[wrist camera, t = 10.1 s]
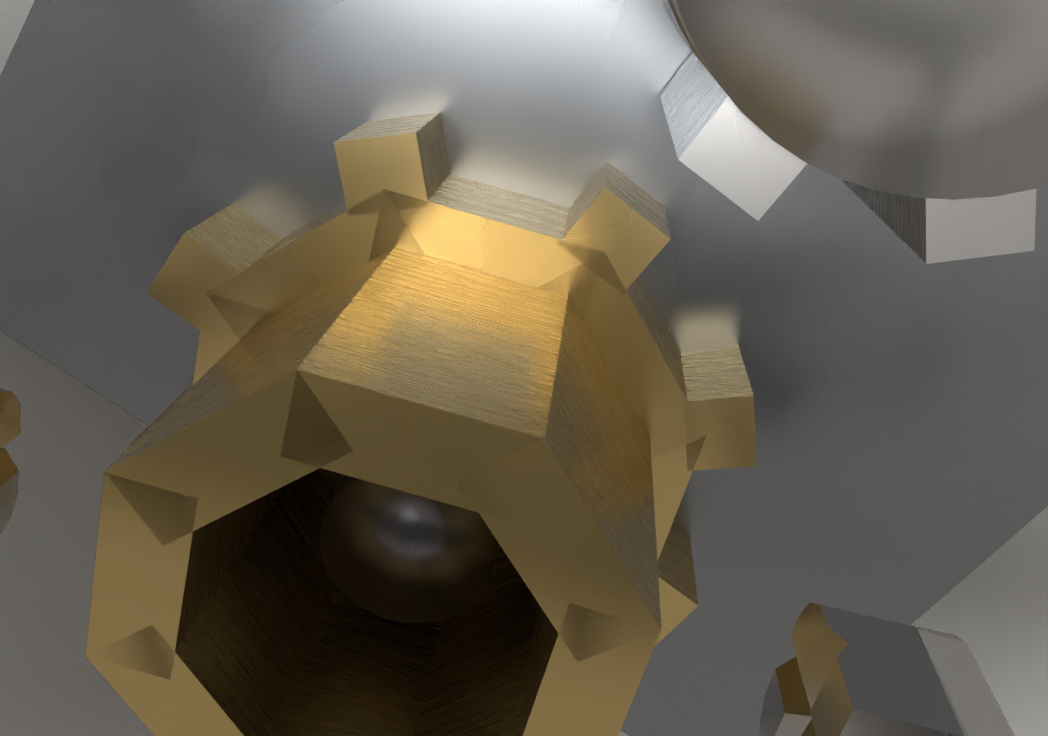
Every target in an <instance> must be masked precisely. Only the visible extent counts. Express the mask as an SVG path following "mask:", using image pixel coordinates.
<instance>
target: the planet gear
mask: <svg viewBox="0 0 1048 736" xmlns="http://www.w3.org/2000/svg"><path fill="white" fill-rule="evenodd" d="M334 147H335V152H336V157H337V162H338V167H339V172H340V176H341V181H342V186H343V191H344V196H345V201H346V202H344V203H342V204H341V205H339V206H337V207H335V208H334V209H332V210H330V211H329V212H327V213H325V214H324V215H322V216H320V217H318V218H317V219H315V220H313V221H312V222H310V223H308V224H306V225H305V226H303V227H301V228H300V229H298V230H296V231H294V232H293V233H291V234H289V235H288V236H286V237H284V238H283V239H281V238H280V237H278V236H277V235H276V234H274V233H273V232H272V231H270V230H269V229H268V228H266V227H265V226H264V225H262V224H261V223H259V222H258V221H257V220H255V219H254V218H253V217H251V216H250V215H249V214H247V213H246V212H245V211H243V210H242V209H240V208H239V207H238V206H236V205H235V204H234V203H232V204H231V205H229V206H228V207H226V208H224V209H223V210H221V211H219V212H218V213H216V214H215V215H213V216H211V217H210V218H208V219H206V220H205V221H203V222H201V223H200V224H198V225H197V226H195V227H193V228H192V229H190V230H188V231H187V232H185V233H184V234H183V235H182V237H181V238H180V240H179V242H178V243H177V245H176V246H175V248H174V250H173V251H172V253H171V254H170V256H169V257H168V259H167V261H166V262H165V264H164V265H163V267H162V268H161V270H160V272H159V273H158V275H157V276H156V278H155V280H154V281H153V283H152V284H151V286H150V287H149V289H148V291H147V292H146V293H148V294H149V295H150V296H152V297H153V298H155V299H156V300H157V301H159V302H160V303H162V304H163V305H164V306H166V307H167V308H169V309H170V310H172V311H173V312H174V313H176V314H177V315H179V316H180V317H181V318H183V319H184V320H186V321H187V322H189V323H190V324H191V325H193V326H194V327H196V328H197V329H198V330H200V337H199V344H198V351H197V358H196V365H195V372H194V380H193V386H192V387H191V388H190V389H189V390H188V391H187V392H186V393H185V394H184V395H183V396H179V397H178V398H177V399H176V400H175V401H174V402H173V403H172V404H171V405H170V406H169V407H168V408H167V409H166V410H165V411H164V412H163V413H162V414H161V415H160V416H159V417H158V418H157V419H156V420H154V421H153V422H152V423H151V424H150V425H149V426H148V427H147V428H146V429H145V430H144V431H143V432H142V433H141V434H140V435H139V436H138V437H137V438H136V439H135V440H134V441H133V442H132V443H131V444H130V445H129V449H128V450H127V451H126V452H125V453H124V454H122V455H121V456H120V457H119V458H118V459H117V460H116V461H115V462H114V463H113V464H112V465H111V466H110V467H109V468H108V469H107V470H106V471H105V472H104V480H103V490H102V500H101V509H100V519H99V529H98V538H97V548H96V558H95V567H94V577H93V587H92V596H91V606H90V616H89V625H88V635H87V645H86V654H85V656H86V658H87V659H88V660H89V661H90V662H91V663H92V665H93V666H94V667H95V668H96V669H97V670H98V671H99V673H100V674H101V675H102V676H103V677H104V678H105V680H106V681H107V682H108V683H109V684H110V685H111V687H112V688H113V689H114V690H115V691H116V692H117V694H118V695H119V696H120V697H121V698H122V699H123V700H124V702H125V703H126V704H127V705H128V706H129V707H130V709H131V710H132V711H133V712H134V713H135V714H136V716H137V717H138V718H139V719H140V720H141V721H142V723H143V724H144V725H145V726H146V727H147V728H148V730H149V731H150V732H151V733H152V734H153V735H154V736H618V735H619V733H620V730H621V728H622V725H623V723H624V720H625V718H626V715H627V713H628V710H629V708H630V705H631V703H632V700H633V698H634V696H635V693H636V691H637V688H638V686H639V683H640V681H641V678H642V676H643V673H644V671H645V668H646V666H647V663H648V661H649V658H650V656H651V654H652V651H653V649H654V646H656V645H657V644H658V643H659V642H660V641H661V640H662V639H663V638H664V637H665V636H666V635H667V634H668V633H670V632H671V631H672V630H673V629H674V628H675V627H676V626H677V625H678V624H679V623H680V622H681V621H682V620H684V619H685V618H686V617H687V616H688V615H689V614H690V613H691V612H692V611H693V610H694V609H695V608H697V607H698V599H697V590H696V582H695V573H694V565H693V557H692V548H691V540H690V539H688V538H687V537H685V536H684V535H683V534H681V533H680V532H679V531H677V530H676V529H675V528H673V527H672V523H673V521H674V518H675V515H676V513H677V510H678V508H679V505H680V503H681V500H682V497H683V495H684V492H685V490H686V487H687V485H688V482H689V479H690V477H691V474H692V472H693V471H695V470H709V469H724V468H738V467H752V466H757V458H756V436H755V414H754V396H753V392H752V389H751V386H750V382H749V379H748V376H747V373H746V369H745V366H744V363H743V359H742V356H741V353H740V350H739V348H732V349H720V350H709V351H697V352H686V353H680V351H679V349H678V347H677V346H676V344H675V342H674V340H673V338H672V337H671V335H670V333H669V331H668V329H667V327H666V326H665V324H664V322H663V320H662V318H661V316H660V315H659V313H658V311H657V309H656V307H655V305H654V304H653V302H652V300H651V298H650V296H649V295H648V293H647V291H646V289H645V287H644V285H643V284H642V282H641V280H640V278H639V275H640V274H641V273H642V271H643V270H644V269H645V268H646V267H647V266H648V265H649V263H650V262H651V261H652V260H653V259H654V258H655V257H656V255H657V254H658V253H659V252H660V251H661V250H662V249H663V247H664V246H665V245H666V244H667V243H668V242H669V241H670V233H669V227H668V222H667V216H666V210H665V207H664V206H663V205H662V204H661V203H659V202H658V201H657V200H656V199H654V198H653V197H652V196H651V195H649V194H648V193H647V192H646V191H644V190H643V189H642V188H641V187H640V186H638V185H637V184H636V183H635V182H633V181H632V180H631V179H630V178H628V177H627V176H626V175H625V174H623V173H622V172H621V171H620V170H618V169H617V168H616V167H615V166H614V165H612V164H611V163H610V162H609V161H607V162H606V163H605V164H604V165H603V167H602V168H601V169H600V170H599V172H598V173H597V174H596V175H595V176H594V178H593V179H592V180H591V181H590V183H589V184H588V185H587V186H586V188H585V189H584V190H583V191H582V193H581V194H580V195H579V196H578V197H577V199H576V200H575V201H574V202H573V204H572V205H571V206H570V207H569V208H567V207H564V206H560V205H557V204H553V203H550V202H546V201H543V200H539V199H536V198H533V197H529V196H526V195H522V194H519V193H515V192H512V191H508V190H505V189H501V188H498V187H494V186H491V185H487V184H484V183H480V182H477V181H473V180H470V179H467V178H463V177H460V176H456V175H453V174H450V169H449V163H448V157H447V150H446V144H445V138H444V132H443V125H442V119H441V113H440V112H439V113H431V114H423V115H414V116H406V117H398V118H390V119H382V120H374V121H367V122H366V123H364V124H362V125H361V126H359V127H358V128H356V129H354V130H353V131H351V132H349V133H348V134H346V135H345V136H343V137H341V138H340V139H338V140H336V141H335V142H334ZM345 475H347V476H351V477H354V478H358V479H361V480H365V481H368V482H372V483H376V484H379V485H383V486H386V487H390V488H393V489H397V490H400V491H404V492H408V493H411V494H415V495H418V496H422V497H425V498H429V499H432V500H436V501H439V502H443V503H447V504H450V505H454V506H457V507H461V508H464V509H468V510H471V511H475V512H478V513H479V514H480V515H481V517H482V519H483V520H484V522H485V523H486V525H487V526H488V528H489V529H490V531H491V532H492V534H493V535H494V537H495V538H496V540H497V541H498V548H497V552H496V557H495V562H494V566H493V571H492V574H491V577H490V580H489V582H488V584H487V586H486V588H485V590H484V591H483V592H482V594H481V595H480V596H479V597H478V598H477V599H476V600H475V601H474V602H473V603H472V604H471V605H470V606H469V607H467V608H466V609H464V610H463V611H461V612H459V613H457V614H456V615H453V616H451V617H448V618H446V619H442V620H438V621H434V622H427V623H406V622H398V621H393V620H389V619H386V618H383V617H380V616H377V615H375V614H373V613H370V612H368V611H367V610H365V609H363V608H361V607H360V606H358V605H357V604H355V603H354V602H353V601H351V600H350V599H349V598H348V597H347V596H346V595H345V594H343V593H342V591H341V590H340V589H339V588H338V587H337V586H336V584H335V583H334V582H333V580H332V579H331V577H330V576H329V574H328V572H327V570H326V568H325V565H324V562H323V560H322V556H321V551H320V543H319V535H320V527H321V523H322V519H323V517H324V514H325V512H326V510H327V508H328V506H329V504H330V503H331V501H332V499H333V497H334V495H335V493H336V491H337V490H338V488H339V486H340V484H341V482H342V480H343V479H344V477H345Z"/></svg>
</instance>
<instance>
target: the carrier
mask: <svg viewBox="0 0 1048 736" xmlns="http://www.w3.org/2000/svg"><path fill="white" fill-rule="evenodd" d="M439 112H440V113H441V119H442V125H443V132H444V138H445V144H446V150H447V157H448V163H449V169H450V174H453V175H456V176H460V177H463V178H467V179H470V180H473V181H477V182H480V183H484V184H487V185H491V186H494V187H498V188H501V189H505V190H508V191H512V192H515V193H519V194H522V195H526V196H529V197H533V198H536V199H539V200H543V201H546V202H550V203H553V204H557V205H560V206H564V207H567V208H569V207H570V206H571V205H572V204H573V202H574V201H575V200H576V199H577V197H578V196H579V195H580V194H581V193H582V191H583V190H584V189H585V188H586V186H587V185H588V184H589V183H590V181H591V180H592V179H593V178H594V176H595V175H596V174H597V173H598V172H599V170H600V169H601V168H602V167H603V165H604V164H605V163H606V162H607V161H609V162H610V163H611V164H612V165H614V166H615V167H616V168H617V169H618V170H620V171H621V172H622V173H623V174H625V175H626V176H627V177H628V178H630V179H631V180H632V181H633V182H635V183H636V184H637V185H638V186H640V187H641V188H642V189H643V190H644V191H646V192H647V193H648V194H649V195H651V196H652V197H653V198H654V199H656V200H657V201H658V202H659V203H661V204H662V205H663V206H664V207H665V210H666V216H667V222H668V227H669V233H670V241H669V242H668V243H667V244H666V245H665V246H664V247H663V249H662V250H661V251H660V252H659V253H658V254H657V255H656V257H655V258H654V259H653V260H652V261H651V262H650V263H649V265H648V266H647V267H646V268H645V269H644V270H643V271H642V273H641V274H640V275H639V278H640V280H641V282H642V284H643V285H644V287H645V289H646V291H647V293H648V295H649V296H650V298H651V300H652V302H653V304H654V305H655V307H656V309H657V311H658V313H659V315H660V316H661V318H662V320H663V322H664V324H665V326H666V327H667V329H668V331H669V333H670V335H671V337H672V338H673V340H674V342H675V344H676V346H677V347H678V349H679V351H680V353H686V352H697V351H709V350H720V349H732V348H739V350H740V353H741V356H742V359H743V363H744V366H745V369H746V373H747V376H748V379H749V382H750V386H751V389H752V392H753V396H754V414H755V436H756V458H757V466H752V467H738V468H724V469H709V470H695V471H693V472H692V474H691V477H690V479H689V482H688V485H687V487H686V490H685V492H684V495H683V497H682V500H681V503H680V505H679V508H678V510H677V513H676V515H675V518H674V521H673V523H672V527H673V528H675V529H676V530H677V531H679V532H680V533H681V534H683V535H684V536H685V537H687V538H688V539H690V540H691V548H692V557H693V565H694V573H695V582H696V590H697V599H698V607H697V608H695V609H694V610H693V611H692V612H691V613H690V614H689V615H688V616H687V617H686V618H685V619H684V620H682V621H681V622H680V623H679V624H678V625H677V626H676V627H675V628H674V629H673V630H672V631H671V632H670V633H668V634H667V635H666V636H665V637H664V638H663V639H662V640H661V641H660V642H659V643H658V644H657V645H656V646H654V649H653V651H652V654H651V656H650V658H649V661H648V663H647V666H646V668H645V671H644V673H643V676H642V678H641V681H640V683H639V686H638V688H637V691H636V693H635V696H634V698H633V700H632V703H631V705H630V708H629V710H628V713H627V715H626V718H625V720H624V723H623V725H622V728H621V730H622V731H623V732H625V733H626V734H628V735H630V736H760V718H761V712H762V707H763V702H764V697H765V693H766V691H767V688H768V686H769V683H770V681H771V678H772V676H773V673H774V671H775V669H776V668H777V667H779V666H781V665H782V664H784V663H786V662H787V661H789V660H791V659H792V658H794V657H796V654H795V649H794V645H793V641H792V637H791V633H792V630H793V628H794V626H795V624H796V622H797V619H798V617H799V615H800V614H801V612H802V611H803V610H804V609H805V607H806V606H807V605H808V604H809V602H811V603H815V604H820V605H824V606H829V607H833V608H837V609H841V610H846V611H850V612H854V613H858V614H863V615H867V616H871V617H875V618H880V619H884V620H888V621H892V622H897V623H901V624H905V625H911V624H912V623H913V622H914V621H915V620H916V619H918V618H919V617H920V616H921V615H922V614H923V613H925V612H926V611H927V610H928V609H929V608H930V607H931V606H933V605H934V604H935V603H936V602H937V601H938V600H939V599H941V598H942V597H943V596H944V595H945V594H946V593H948V592H949V591H950V590H951V589H952V588H953V587H954V586H956V585H957V584H958V583H959V582H960V581H961V580H962V579H964V578H965V577H966V576H967V575H968V574H969V573H971V572H972V571H973V570H974V569H975V568H976V567H977V566H979V565H980V564H981V563H982V562H983V561H984V560H986V559H987V558H988V557H989V556H990V555H991V554H992V553H994V552H995V551H996V550H997V549H998V548H999V547H1000V546H1002V545H1003V544H1004V543H1005V542H1006V541H1007V540H1009V539H1010V538H1011V537H1012V536H1013V535H1014V534H1015V533H1017V532H1018V531H1019V530H1020V529H1021V528H1022V527H1024V526H1025V525H1026V524H1027V523H1028V522H1029V521H1030V520H1032V519H1033V518H1034V517H1035V516H1036V515H1037V514H1038V513H1040V512H1041V511H1042V510H1043V509H1044V508H1045V507H1047V506H1048V0H35V2H34V4H33V6H32V8H31V10H30V13H29V15H28V17H27V19H26V21H25V23H24V26H23V28H22V30H21V32H20V34H19V37H18V39H17V41H16V43H15V45H14V47H13V50H12V52H11V54H10V56H9V58H8V60H7V63H6V65H5V67H4V69H3V71H2V73H1V76H0V330H1V331H2V332H4V333H5V334H7V335H9V336H10V337H12V338H13V339H15V340H16V341H18V342H19V343H21V344H22V345H24V346H26V347H27V348H29V349H30V350H32V351H33V352H35V353H36V354H38V355H40V356H41V357H43V358H44V359H46V360H47V361H49V362H50V363H52V364H54V365H55V366H57V367H58V368H60V369H61V370H63V371H64V372H66V373H68V374H69V375H71V376H72V377H74V378H75V379H77V380H78V381H80V382H81V383H83V384H85V385H86V386H88V387H89V388H91V389H92V390H94V391H95V392H97V393H99V394H100V395H102V396H103V397H105V398H106V399H108V400H109V401H111V402H113V403H114V404H116V405H117V406H119V407H120V408H122V409H123V410H125V411H127V412H128V413H130V414H131V415H133V416H134V417H136V418H137V419H139V420H140V421H142V422H144V423H145V424H147V425H148V426H149V425H150V424H151V423H152V422H153V421H154V420H156V419H157V418H158V417H159V416H160V415H161V414H162V413H163V412H164V411H165V410H166V409H167V408H168V407H169V406H170V405H171V404H172V403H173V402H174V401H175V400H176V399H177V398H178V397H179V396H183V395H184V394H185V393H186V392H187V391H188V390H189V389H190V388H191V387H192V386H193V380H194V372H195V365H196V358H197V351H198V344H199V337H200V330H198V329H197V328H196V327H194V326H193V325H191V324H190V323H189V322H187V321H186V320H184V319H183V318H181V317H180V316H179V315H177V314H176V313H174V312H173V311H172V310H170V309H169V308H167V307H166V306H164V305H163V304H162V303H160V302H159V301H157V300H156V299H155V298H153V297H152V296H150V295H149V294H148V293H146V292H147V291H148V289H149V287H150V286H151V284H152V283H153V281H154V280H155V278H156V276H157V275H158V273H159V272H160V270H161V268H162V267H163V265H164V264H165V262H166V261H167V259H168V257H169V256H170V254H171V253H172V251H173V250H174V248H175V246H176V245H177V243H178V242H179V240H180V238H181V237H182V235H183V234H184V233H185V232H187V231H188V230H190V229H192V228H193V227H195V226H197V225H198V224H200V223H201V222H203V221H205V220H206V219H208V218H210V217H211V216H213V215H215V214H216V213H218V212H219V211H221V210H223V209H224V208H226V207H228V206H229V205H231V204H232V203H234V204H235V205H236V206H238V207H239V208H240V209H242V210H243V211H245V212H246V213H247V214H249V215H250V216H251V217H253V218H254V219H255V220H257V221H258V222H259V223H261V224H262V225H264V226H265V227H266V228H268V229H269V230H270V231H272V232H273V233H274V234H276V235H277V236H278V237H280V238H281V239H283V238H284V237H286V236H288V235H289V234H291V233H293V232H294V231H296V230H298V229H300V228H301V227H303V226H305V225H306V224H308V223H310V222H312V221H313V220H315V219H317V218H318V217H320V216H322V215H324V214H325V213H327V212H329V211H330V210H332V209H334V208H335V207H337V206H339V205H341V204H342V203H344V202H346V201H345V196H344V191H343V186H342V181H341V176H340V172H339V167H338V162H337V157H336V152H335V147H334V142H335V141H336V140H338V139H340V138H341V137H343V136H345V135H346V134H348V133H349V132H351V131H353V130H354V129H356V128H358V127H359V126H361V125H362V124H364V123H366V122H367V121H374V120H382V119H390V118H398V117H406V116H414V115H423V114H431V113H439ZM319 543H320V551H321V556H322V560H323V562H324V565H325V568H326V570H327V572H328V574H329V576H330V577H331V579H332V580H333V582H334V583H335V584H336V586H337V587H338V588H339V589H340V590H341V591H342V593H343V594H345V595H346V596H347V597H348V598H349V599H350V600H351V601H353V602H354V603H355V604H357V605H358V606H360V607H361V608H363V609H365V610H367V611H368V612H370V613H373V614H375V615H377V616H380V617H383V618H386V619H389V620H393V621H398V622H406V623H427V622H434V621H438V620H442V619H446V618H448V617H451V616H453V615H456V614H457V613H459V612H461V611H463V610H464V609H466V608H467V607H469V606H470V605H471V604H472V603H473V602H474V601H475V600H476V599H477V598H478V597H479V596H480V595H481V594H482V592H483V591H484V590H485V588H486V586H487V584H488V582H489V580H490V577H491V574H492V571H493V566H494V562H495V557H496V552H497V548H498V541H497V540H496V538H495V537H494V535H493V534H492V532H491V531H490V529H489V528H488V526H487V525H486V523H485V522H484V520H483V519H482V517H481V515H480V514H479V513H478V512H475V511H471V510H468V509H464V508H461V507H457V506H454V505H450V504H447V503H443V502H439V501H436V500H432V499H429V498H425V497H422V496H418V495H415V494H411V493H408V492H404V491H400V490H397V489H393V488H390V487H386V486H383V485H379V484H376V483H372V482H368V481H365V480H361V479H358V478H354V477H351V476H347V475H345V477H344V479H343V480H342V482H341V484H340V486H339V488H338V490H337V491H336V493H335V495H334V497H333V499H332V501H331V503H330V504H329V506H328V508H327V510H326V512H325V514H324V517H323V519H322V523H321V527H320V535H319Z"/></svg>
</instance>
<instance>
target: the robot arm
mask: <svg viewBox="0 0 1048 736" xmlns="http://www.w3.org/2000/svg"><path fill="white" fill-rule="evenodd" d="M19 434H20V403H19V401H18V400H17V399H16V397H15V396H14V394H13V393H12V392H11V391H8V390H4V389H1V388H0V535H1V533H2V532H3V530H4V528H5V526H6V524H7V523H8V521H9V519H10V517H11V516H12V512H13V509H14V505H15V501H16V497H17V493H18V477H19V471H18V469H17V467H16V466H15V464H14V463H13V461H12V459H11V458H10V456H9V454H8V453H7V451H6V449H5V447H6V446H7V445H8V444H9V443H10V442H11V441H12V440H13V439H14V438H15V437H16V436H17V435H19ZM791 637H792V641H793V645H794V649H795V654H796V657H794V658H792V659H791V660H789V661H787V662H786V663H784V664H782V665H781V666H779V667H777V668H776V669H775V671H774V673H773V676H772V678H771V681H770V683H769V686H768V688H767V691H766V693H765V697H764V702H763V707H762V712H761V718H760V736H1014V734H1013V732H1012V730H1011V728H1010V726H1009V724H1008V722H1007V720H1006V718H1005V717H1004V715H1003V713H1002V711H1001V709H1000V707H999V705H998V703H997V701H996V699H995V697H994V695H993V693H992V691H991V689H990V688H989V686H988V684H987V682H986V680H985V678H984V676H983V674H982V672H981V670H980V668H979V666H978V664H977V662H976V660H975V659H974V657H973V655H972V653H971V651H970V649H969V647H968V645H967V644H966V643H965V642H964V641H963V640H961V639H960V638H959V637H957V636H956V635H951V634H947V633H942V632H938V631H933V630H929V629H924V628H919V627H915V626H910V625H905V624H901V623H897V622H892V621H888V620H884V619H880V618H875V617H871V616H867V615H863V614H858V613H854V612H850V611H846V610H841V609H837V608H833V607H829V606H824V605H820V604H815V603H811V602H809V604H808V605H807V606H806V607H805V609H804V610H803V611H802V612H801V614H800V615H799V617H798V619H797V622H796V624H795V626H794V628H793V630H792V633H791Z"/></svg>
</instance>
